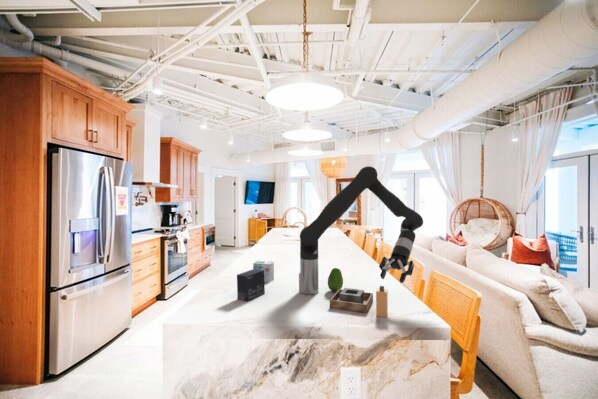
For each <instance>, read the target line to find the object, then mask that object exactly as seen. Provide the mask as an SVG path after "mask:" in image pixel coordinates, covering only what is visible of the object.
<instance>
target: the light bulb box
mask: <svg viewBox="0 0 598 399" xmlns="http://www.w3.org/2000/svg"><path fill="white" fill-rule="evenodd" d="M252 265H253V266H252V267H253V268H252V270H253V269H258V270H264V283H268V284H269V283H271V282H273V281H274V280H275V261H271V260H269V261H267V260H257V261H254V262H253V263H252Z"/></svg>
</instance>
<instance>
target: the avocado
mask: <svg viewBox="0 0 598 399" xmlns="http://www.w3.org/2000/svg"><path fill="white" fill-rule="evenodd" d="M342 274H343V273H342V271H341V269H340V268H338V267H337V268H336V267H334V268H332V269H331V271H330V273H329V275H328V278H327V286H328V289H329V290H331V292H335V293H336V292H337V291H338V290H339V289H342V287H343V285H344V278H343V275H342Z"/></svg>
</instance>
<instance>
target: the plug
mask: <svg viewBox="0 0 598 399" xmlns="http://www.w3.org/2000/svg"><path fill="white" fill-rule="evenodd" d="M388 292H389V290H388V289H387V288H386V289H385V286H384V285H380V286H379V288H377V289H376V290H375V296H376V297H375V306H376V307H375V308H376V309H375V312H376V313H375V316H376V317H381V318H387V317H388V313H389V310H388V308H389V307H388V306H389V304H388V298H389V297H388Z"/></svg>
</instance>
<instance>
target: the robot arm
mask: <svg viewBox="0 0 598 399" xmlns="http://www.w3.org/2000/svg"><path fill="white" fill-rule="evenodd" d="M367 189H368V190H369V191H370V192H371V193H372V194H373V195H375V196H376V197H377V198H378V199H379V200H380V201H381V202H382V203H383V204H384V206H385V207H386V208H387V209H388V210H389V211H390V212H391V213H392V214H393V215H394V216H395V217H397V218H400V217H403V218H404V219H402V222H401V224H400V232H399V235H398V237H397V240H396V241H395V243H394V247H393V250H392V251H391V254H390V257H389V258H387V257H386V256H383V257H382V259H381V262H380V263H379V266H378V267H379V269H380V271H381V272H380V278H381V280H384V279H385V277H386V275H387V272H389V271H391V270H392V269H393V270H398V271H402V273H401V275H400V277H399V282H400V283H401V284H403V283H404V282H405V281H406V278H407V276H412V274H413V272H414V266H415V263H414V261H413V260H410V261H409V259H410V256H411V253H412V251H413V246H414V243H415V241H416V240H415V239H416V233H415V231H416V230H417V229H419V228H421V227H422V226H423V225H424V219H423V217H422V215H421V214H420V213H418V212H417V211H415V210H414V209H412V208H411V207H409V206H408V205H406V204H405V203H404V202H403V201H402V200H401V199H400V198H399V197H398V196H397V195H396V194H394V193H393V192H392V191H390V190H389V189H388V188H386V186H384V185H383V183H382V182H381V181H380V179H379V178H378V171H377V170H376V168H375V167H374V166H371V165H370V166H369V165H368V166H364V167H362V168H361V169H360V170H359V171H358V173H357V174H356V175H355V177H354V178H353V179H352V180H351V181H350V183H349V184H348V185H347V186H345V187H344V188H343V189H342V190H340V191H339V192H338V193H337V194H336V195H335V196H334V197H333V198H331V200H330V201H328V203H327V204H326V205H325V206H324V208H323V209H322V210H321V212H320V213H319V215H318V216H317V217H316V218H315V220H313V221H312V222H311V223H310V224H309V225H307V226H305V227H304V228H302V229H301V231H300V234H299V240H300V242H299V243H300V245H299V247H300V249H299V250H300V251H299V254H300V255H299V262H300V263H299V265H300V268H299V269H300V271H299V273H298V292H299V293H301V294H304V295H315V294H317V293H319V240H320V238H321V237H322V235H323V234H324V233H325V232H326V231H327V230H328V228H330V227H331V226H332V225H333V224H335V222H336V221H338V220H339V219H340V218H341V217H342V216H343V215H344V214H345V213H346V212H347V211H348V210H349V209H350V207H352V205H353V204H354V202H355V201H356V200H357V199H358V197H359V196H360V195H361V194H362V193H363V192H364V191H365V190H367ZM407 266H408V267H407ZM405 267H407V270H406V269H405Z"/></svg>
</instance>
